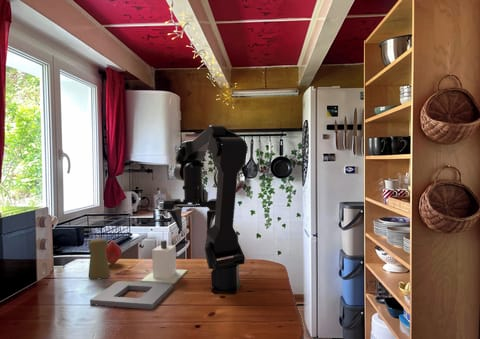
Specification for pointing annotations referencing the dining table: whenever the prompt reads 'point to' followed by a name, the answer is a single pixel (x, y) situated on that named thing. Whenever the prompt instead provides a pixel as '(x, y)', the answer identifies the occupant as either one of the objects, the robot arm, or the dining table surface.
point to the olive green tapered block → (98, 259)
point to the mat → (164, 280)
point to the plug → (164, 261)
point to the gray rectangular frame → (145, 302)
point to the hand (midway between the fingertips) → (194, 231)
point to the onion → (113, 252)
